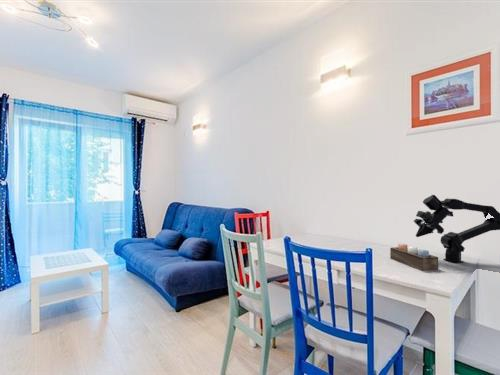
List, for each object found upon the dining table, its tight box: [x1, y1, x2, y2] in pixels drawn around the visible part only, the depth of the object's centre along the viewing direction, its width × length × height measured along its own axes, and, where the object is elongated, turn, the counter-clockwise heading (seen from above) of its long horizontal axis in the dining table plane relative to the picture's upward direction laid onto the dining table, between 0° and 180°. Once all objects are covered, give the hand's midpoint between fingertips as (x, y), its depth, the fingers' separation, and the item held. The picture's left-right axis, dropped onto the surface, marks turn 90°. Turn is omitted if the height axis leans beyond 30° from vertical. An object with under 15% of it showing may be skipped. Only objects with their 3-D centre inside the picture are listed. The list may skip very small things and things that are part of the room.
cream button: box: [407, 246, 419, 254], centre depth 137 cm, size 4×4×5 cm
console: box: [389, 246, 439, 271], centre depth 137 cm, size 9×22×6 cm, turn 9°
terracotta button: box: [397, 243, 408, 250], centre depth 144 cm, size 4×4×5 cm
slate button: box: [418, 249, 430, 257], centre depth 130 cm, size 4×4×5 cm
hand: (416, 236), depth 143 cm, fingers closed
